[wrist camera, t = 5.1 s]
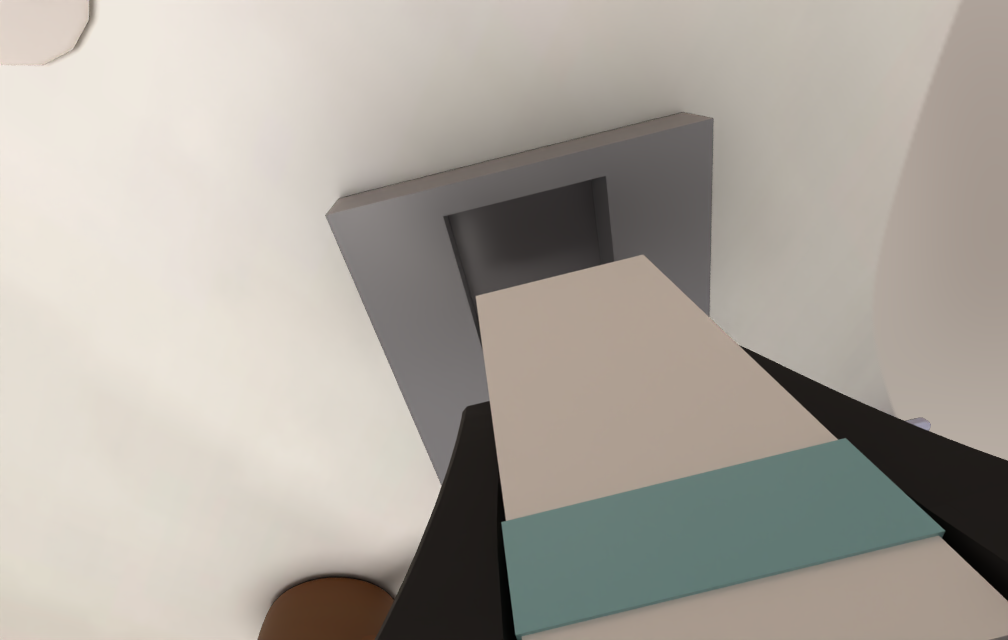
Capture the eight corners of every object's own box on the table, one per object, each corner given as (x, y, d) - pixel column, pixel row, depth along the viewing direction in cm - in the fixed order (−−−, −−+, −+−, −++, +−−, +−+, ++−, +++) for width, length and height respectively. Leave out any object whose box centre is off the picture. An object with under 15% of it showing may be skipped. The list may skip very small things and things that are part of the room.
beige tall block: (645, 252, 10) (1298, 859, 2) (652, 387, 12) (1022, 956, 4) (472, 294, 10) (566, 1034, 2) (509, 422, 12) (624, 1051, 5)
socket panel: (682, 112, 15) (713, 118, 13) (686, 430, 23) (706, 460, 21) (338, 198, 15) (324, 215, 14) (456, 486, 23) (456, 521, 21)
